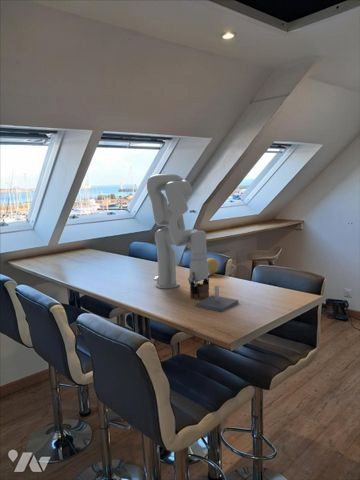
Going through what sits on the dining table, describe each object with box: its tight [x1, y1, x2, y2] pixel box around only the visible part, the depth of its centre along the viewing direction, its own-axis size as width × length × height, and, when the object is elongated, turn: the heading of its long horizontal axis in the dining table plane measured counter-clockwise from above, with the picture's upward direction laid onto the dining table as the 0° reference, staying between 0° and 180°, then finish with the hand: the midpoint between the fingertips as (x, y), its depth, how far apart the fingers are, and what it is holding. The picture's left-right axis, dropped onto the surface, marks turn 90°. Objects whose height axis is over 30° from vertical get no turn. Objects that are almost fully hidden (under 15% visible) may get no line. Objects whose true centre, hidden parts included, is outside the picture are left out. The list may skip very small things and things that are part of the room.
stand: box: [194, 285, 239, 313], centre depth 166 cm, size 14×14×8 cm
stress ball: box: [207, 257, 219, 276], centre depth 223 cm, size 10×10×10 cm
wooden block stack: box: [189, 282, 210, 301], centre depth 178 cm, size 6×6×6 cm
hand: (200, 291), depth 177 cm, fingers open, 9 cm apart
